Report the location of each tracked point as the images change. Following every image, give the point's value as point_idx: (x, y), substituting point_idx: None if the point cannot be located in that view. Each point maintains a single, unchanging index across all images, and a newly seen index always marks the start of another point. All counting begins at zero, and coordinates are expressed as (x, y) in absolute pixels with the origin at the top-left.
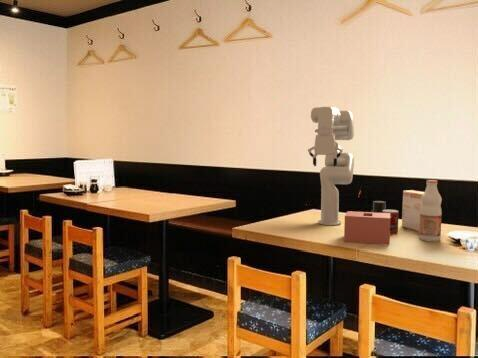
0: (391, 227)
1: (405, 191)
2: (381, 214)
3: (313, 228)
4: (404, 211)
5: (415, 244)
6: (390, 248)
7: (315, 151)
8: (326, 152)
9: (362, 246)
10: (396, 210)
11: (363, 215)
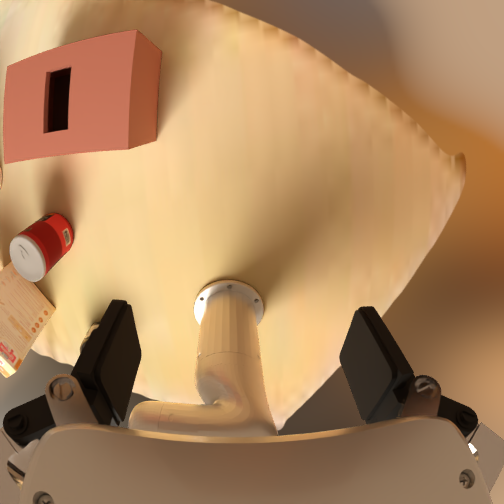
0: (42, 217)
1: (7, 362)
2: (21, 125)
3: (272, 224)
4: (32, 326)
5: None
6: (55, 35)
7: (462, 445)
8: (210, 480)
9: (114, 19)
10: (17, 269)
11: (71, 94)
